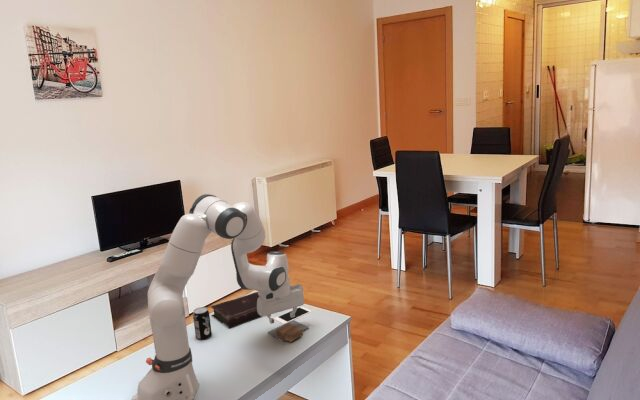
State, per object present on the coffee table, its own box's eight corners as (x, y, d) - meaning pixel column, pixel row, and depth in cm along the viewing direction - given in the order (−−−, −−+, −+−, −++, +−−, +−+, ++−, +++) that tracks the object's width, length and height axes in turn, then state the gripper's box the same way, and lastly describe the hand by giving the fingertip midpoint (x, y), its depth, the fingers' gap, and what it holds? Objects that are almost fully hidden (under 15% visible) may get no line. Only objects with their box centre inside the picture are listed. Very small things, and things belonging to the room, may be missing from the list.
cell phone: (273, 319, 226) (273, 318, 226) (301, 307, 236) (301, 306, 236) (284, 325, 220) (284, 323, 220) (312, 312, 231) (312, 310, 230)
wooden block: (302, 328, 207) (288, 322, 213) (290, 335, 202) (275, 329, 208) (302, 334, 208) (288, 329, 213) (290, 342, 203) (276, 336, 208)
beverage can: (213, 332, 217) (210, 306, 214) (209, 340, 211) (205, 313, 208) (198, 332, 218) (195, 306, 215) (193, 340, 211) (190, 313, 209)
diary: (278, 312, 234) (278, 302, 232) (229, 330, 219) (228, 319, 218) (258, 299, 248) (257, 289, 247) (210, 315, 234) (209, 305, 233)
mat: (282, 341, 206) (282, 339, 205) (267, 333, 213) (267, 331, 213) (308, 328, 215) (308, 326, 214) (293, 321, 222) (293, 319, 222)
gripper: (299, 280, 218) (301, 310, 221) (253, 292, 208) (257, 323, 212) (305, 285, 212) (308, 316, 215) (259, 297, 203) (262, 329, 206)
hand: (282, 319), depth 213 cm, fingers open, 8 cm apart
